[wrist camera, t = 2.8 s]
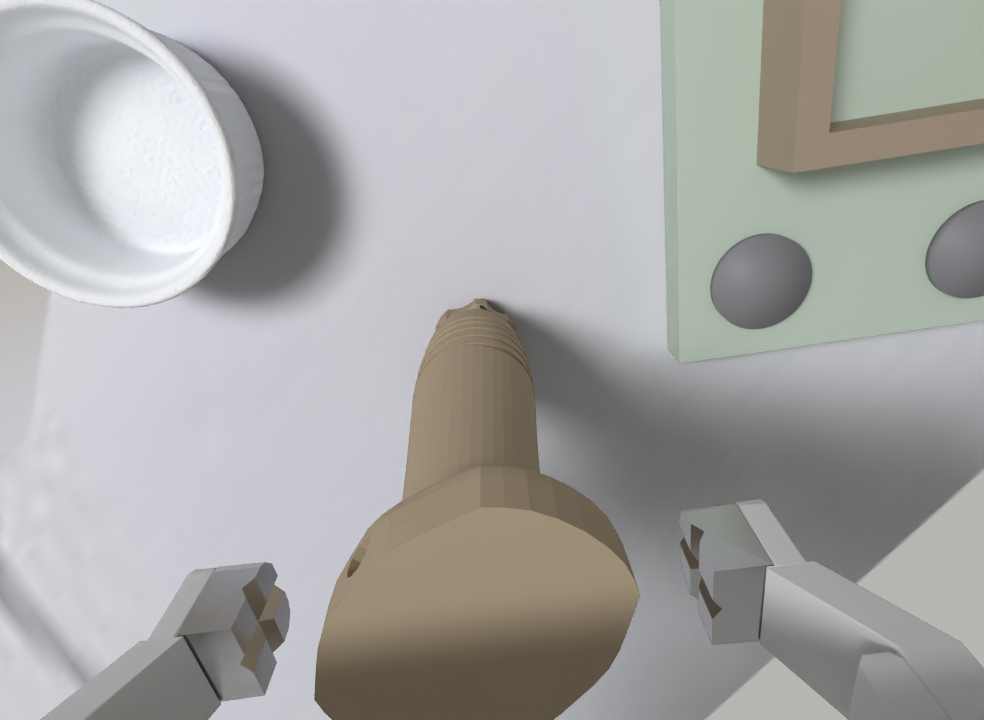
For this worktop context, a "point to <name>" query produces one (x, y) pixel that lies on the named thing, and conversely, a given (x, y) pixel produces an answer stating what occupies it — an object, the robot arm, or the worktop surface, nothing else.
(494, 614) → the handle
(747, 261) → the green board with frame
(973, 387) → the worktop surface
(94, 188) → the ramekin
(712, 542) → the robot arm
